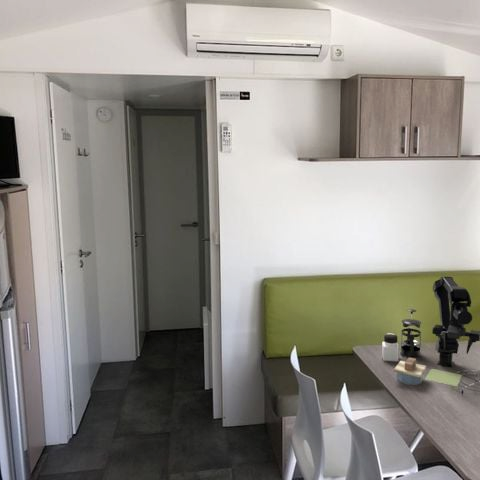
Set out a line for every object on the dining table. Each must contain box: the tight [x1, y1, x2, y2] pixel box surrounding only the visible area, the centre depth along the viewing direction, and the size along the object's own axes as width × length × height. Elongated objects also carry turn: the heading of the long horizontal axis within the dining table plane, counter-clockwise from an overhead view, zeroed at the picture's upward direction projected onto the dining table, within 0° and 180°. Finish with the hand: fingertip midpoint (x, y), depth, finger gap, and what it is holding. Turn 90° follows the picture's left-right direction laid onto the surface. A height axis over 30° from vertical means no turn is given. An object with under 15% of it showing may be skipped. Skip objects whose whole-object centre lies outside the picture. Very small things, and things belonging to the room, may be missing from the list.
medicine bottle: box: [381, 333, 400, 363], centre depth 229 cm, size 7×7×12 cm
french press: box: [399, 308, 422, 359], centre depth 233 cm, size 12×9×23 cm
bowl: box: [396, 372, 424, 386], centre depth 205 cm, size 10×10×5 cm
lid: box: [393, 357, 427, 377], centre depth 205 cm, size 11×11×4 cm
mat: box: [424, 368, 463, 387], centre depth 208 cm, size 13×13×1 cm
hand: (455, 351), depth 206 cm, fingers open, 9 cm apart
